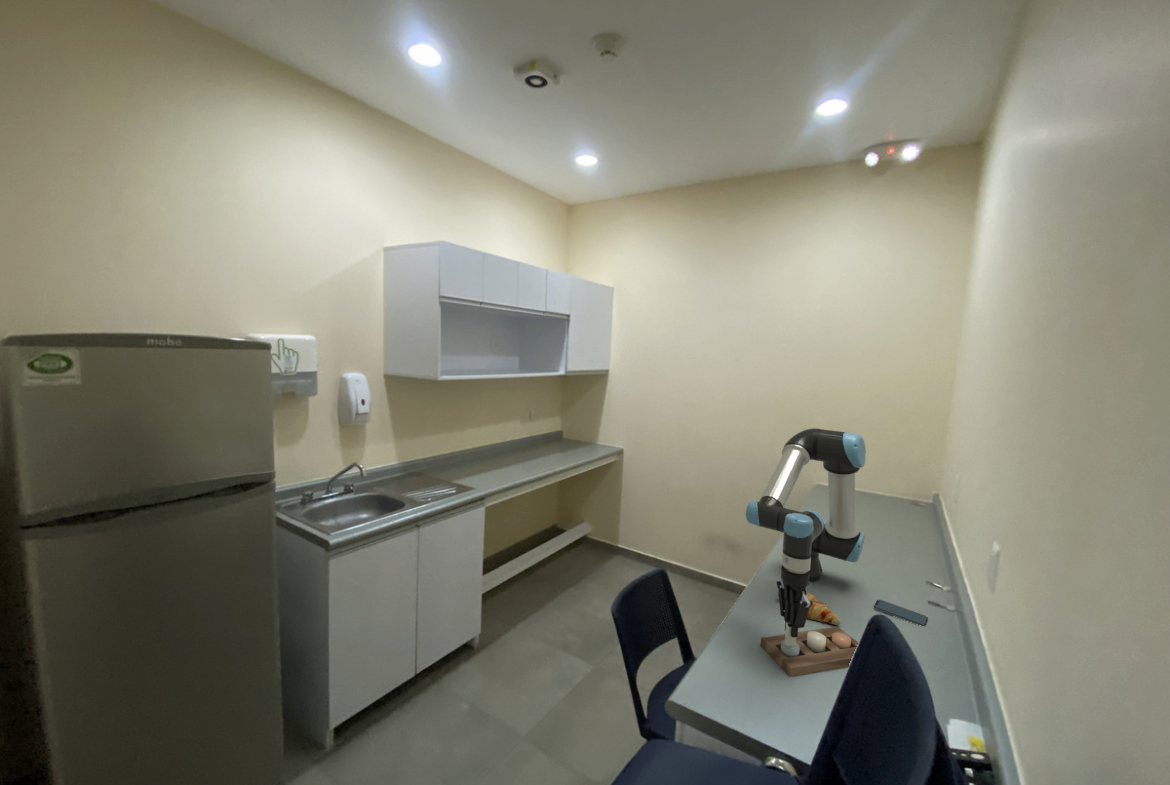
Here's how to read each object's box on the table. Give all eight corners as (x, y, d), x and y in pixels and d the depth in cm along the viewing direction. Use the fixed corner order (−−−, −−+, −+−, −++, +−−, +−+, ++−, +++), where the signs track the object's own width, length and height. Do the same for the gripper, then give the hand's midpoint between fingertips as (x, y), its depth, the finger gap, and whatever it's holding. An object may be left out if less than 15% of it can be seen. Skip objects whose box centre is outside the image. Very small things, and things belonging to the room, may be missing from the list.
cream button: (803, 643, 142) (803, 632, 142) (817, 641, 143) (817, 630, 143) (814, 653, 137) (815, 642, 137) (829, 651, 138) (829, 640, 138)
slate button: (776, 652, 140) (777, 641, 140) (791, 649, 141) (792, 638, 141) (787, 663, 135) (788, 651, 135) (802, 660, 136) (803, 649, 136)
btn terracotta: (827, 644, 144) (828, 633, 144) (841, 641, 145) (842, 631, 145) (840, 654, 139) (840, 643, 139) (854, 652, 141) (854, 641, 140)
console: (760, 645, 144) (760, 637, 144) (837, 633, 150) (837, 626, 150) (790, 676, 130) (791, 668, 130) (873, 662, 137) (873, 654, 137)
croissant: (841, 633, 156) (848, 609, 158) (832, 630, 150) (839, 605, 152) (780, 605, 172) (786, 583, 174) (769, 601, 166) (776, 579, 167)
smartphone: (925, 625, 154) (873, 606, 165) (924, 630, 155) (872, 610, 165) (928, 616, 160) (878, 598, 170) (927, 620, 160) (877, 602, 170)
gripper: (770, 559, 141) (765, 632, 143) (799, 580, 128) (794, 660, 131) (791, 557, 143) (786, 629, 145) (822, 577, 130) (816, 657, 132)
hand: (790, 644), depth 138 cm, fingers closed
